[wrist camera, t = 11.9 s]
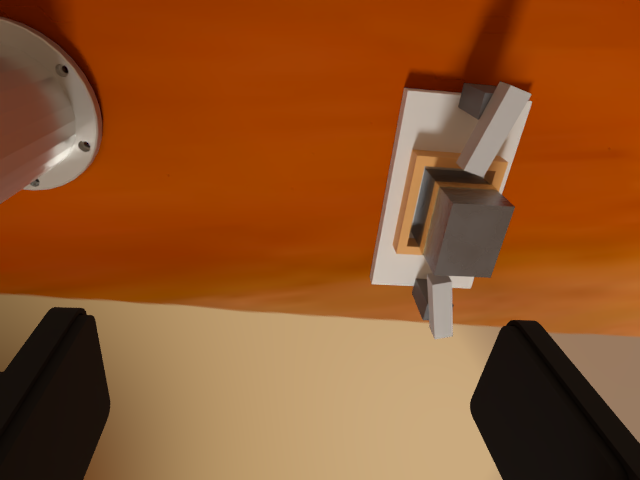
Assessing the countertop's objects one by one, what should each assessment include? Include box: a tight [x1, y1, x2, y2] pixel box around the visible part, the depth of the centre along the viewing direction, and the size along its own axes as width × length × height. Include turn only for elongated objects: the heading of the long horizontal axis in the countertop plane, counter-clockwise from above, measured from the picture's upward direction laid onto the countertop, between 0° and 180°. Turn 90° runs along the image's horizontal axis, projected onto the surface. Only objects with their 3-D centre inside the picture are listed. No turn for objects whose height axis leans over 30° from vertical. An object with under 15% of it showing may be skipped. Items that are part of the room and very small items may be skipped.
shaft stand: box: [370, 81, 532, 339], centre depth 35 cm, size 21×10×7 cm, turn 175°
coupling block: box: [411, 169, 515, 278], centre depth 33 cm, size 5×6×7 cm
